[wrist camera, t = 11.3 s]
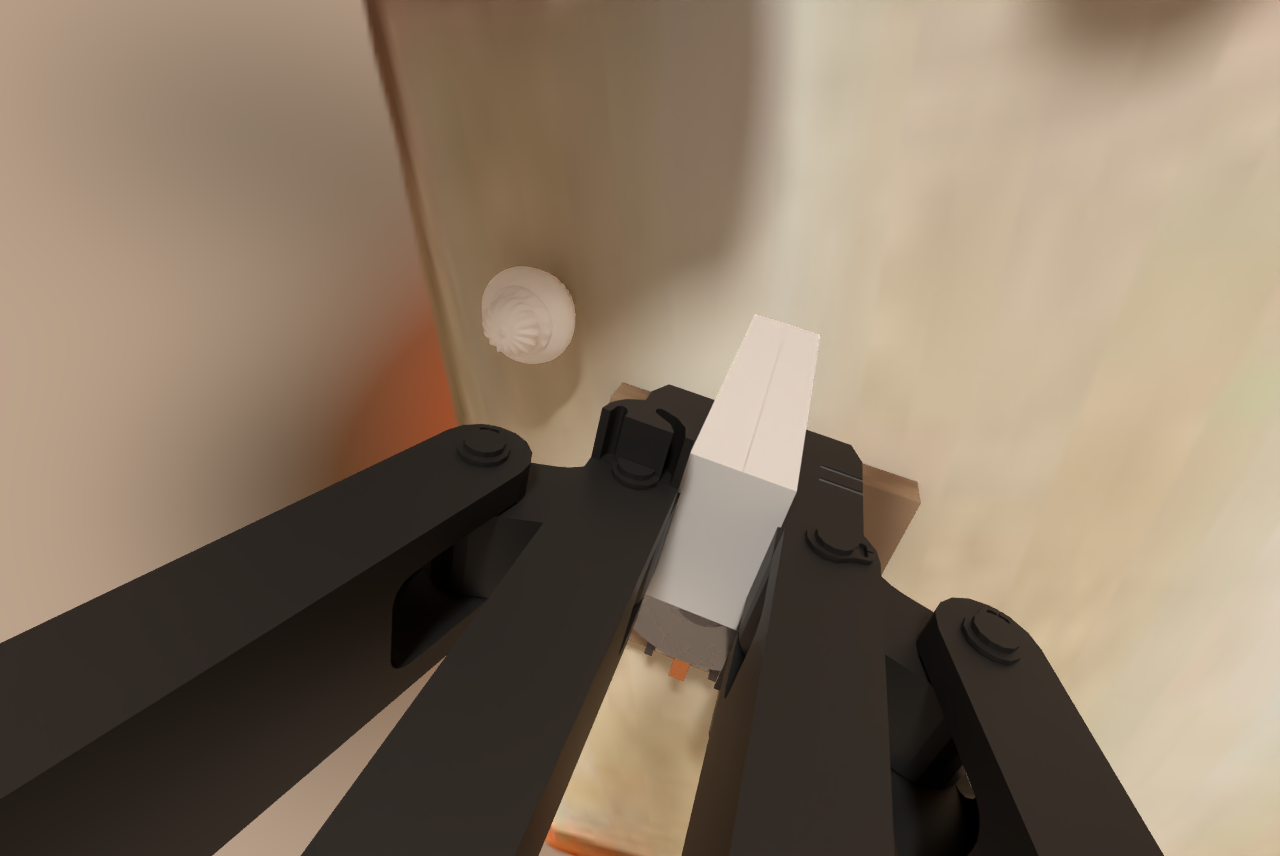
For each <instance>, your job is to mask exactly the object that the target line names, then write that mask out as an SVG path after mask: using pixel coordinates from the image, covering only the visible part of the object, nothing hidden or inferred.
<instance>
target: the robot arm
mask: <svg viewBox="0 0 1280 856" xmlns="http://www.w3.org/2000/svg"><path fill="white" fill-rule="evenodd" d="M819 341H820V335H819V334H816V333H813V332H810V331H807V330H804V329H801V328H798V327H795V326H792V325H788V324H785V323H782V322H779V321H776V320H773V319H770V318H767V317H764V316H761V315H757V314H755V315H754V317H753V320H752V322H751V324H750V326H749V328H748V330H747V332H746V335H745V337H744V339H743V341H742V343H741V345H740V347H739V350H738V352H737V354H736V356H735V358H734V360H733V362H732V365H731V367H730V369H729V371H728V373H727V375H726V378H725V380H724V382H723V384H722V386H721V388H720V390H719V393H718V395H717V397H716V399H715V400H713V399H710V398H707V397H704V396H701V395H698V394H695V393H692V392H690V391H687V390H684V389H681V388H678V387H675V386H672V385H667V386H664V387H662V388H659V389H657V390H654V391H652V392H651V393H650V395H649V396H648V397H647V399H646V400H639V399H623V400H618V401H613V402H611V403H609V404H608V405H606V406H605V407H603V408H602V412H601V416H600V421H599V425H598V429H597V434H596V438H595V443H594V447H593V452H592V456H591V458H590V460H589V461H588V462H587V464H586V465H585V466H583V467H572V468H567V467H555V466H548V465H542V464H536V463H531V457H532V451H531V449H530V447H529V445H528V444H527V442H526V441H525V440H523V439H522V438H521V437H519V436H518V435H517V434H516V433H513V432H511V431H508V430H506V429H503V428H501V427H496V426H490V425H485V424H474V425H462V426H459V427H455V428H452V429H449V430H446V431H444V432H442V433H440V434H438V435H436V436H434V437H432V438H430V439H427V440H426V441H423V442H421V443H419V444H417V445H415V446H413V447H411V448H409V449H407V450H405V451H403V452H400V453H398V454H396V455H394V456H392V457H390V458H388V459H386V460H383V461H381V462H379V463H377V464H375V465H373V466H371V467H369V468H367V469H365V470H363V471H360V472H358V473H356V474H354V475H352V476H350V477H348V478H346V479H344V480H342V481H340V482H337V483H335V484H333V485H331V486H329V487H327V488H325V489H323V490H321V491H319V492H316V493H314V494H312V495H310V496H308V497H306V498H304V499H302V500H300V501H298V502H296V503H293V504H291V505H289V506H287V507H285V508H283V509H281V510H279V511H277V512H275V513H273V514H271V515H268V516H266V517H264V518H262V519H260V520H258V521H256V522H254V523H251V524H250V525H247V526H245V527H243V528H241V529H239V530H237V531H235V532H233V533H231V534H228V535H227V536H224V537H222V538H220V539H218V540H216V541H214V542H212V543H210V544H207V545H205V546H203V547H201V548H199V549H197V550H195V551H193V552H191V553H189V554H187V555H184V556H182V557H180V558H178V559H176V560H174V561H172V562H170V563H168V564H166V565H163V566H162V567H159V568H157V569H155V570H153V571H151V572H149V573H147V574H145V575H143V576H141V577H138V578H136V579H134V580H132V581H130V582H128V583H126V584H124V585H122V586H119V587H117V588H115V589H113V590H111V591H109V592H107V593H105V594H103V595H101V596H99V597H96V598H94V599H92V600H90V601H88V602H86V603H84V604H82V605H80V606H78V607H75V608H74V609H72V610H69V611H67V612H65V613H63V614H61V615H59V616H57V617H55V618H52V619H50V620H48V621H46V622H44V623H42V624H40V625H38V626H36V627H34V628H32V629H29V630H27V631H25V632H23V633H21V634H19V635H17V636H15V637H13V638H11V639H8V640H6V641H4V642H2V643H0V856H212V855H213V854H215V853H216V852H217V851H218V850H219V849H220V848H222V847H223V846H224V845H225V844H226V843H227V842H229V841H230V840H231V839H232V838H233V837H234V836H236V835H237V834H238V833H239V832H240V831H241V830H243V828H245V827H246V826H247V825H249V824H250V823H251V822H252V821H253V820H254V819H256V818H257V817H258V816H259V815H260V814H261V813H262V812H264V811H265V810H266V809H267V808H268V807H270V806H271V805H272V804H273V803H274V802H275V801H277V799H279V798H280V797H281V796H282V795H283V794H285V793H286V792H287V791H288V790H289V789H291V788H292V787H293V786H294V785H295V784H296V783H298V782H299V781H300V780H301V779H302V778H303V777H305V776H306V775H307V774H308V773H309V772H310V771H312V770H313V769H314V768H315V767H316V766H318V765H319V764H320V763H321V762H322V761H323V760H324V759H326V758H327V757H328V756H329V755H330V754H331V753H333V752H334V751H335V750H336V749H337V748H339V747H340V746H341V745H342V744H343V743H344V742H345V741H347V740H348V739H349V738H350V737H351V736H352V735H354V734H355V733H356V732H357V731H358V730H359V729H361V728H362V727H363V726H364V725H365V724H367V723H368V722H369V721H370V720H371V719H372V718H374V717H375V716H376V715H377V714H378V713H380V712H381V711H382V710H383V709H384V708H385V707H387V706H388V705H389V704H390V703H391V702H392V701H394V700H395V699H396V698H397V697H398V696H399V695H401V694H402V693H403V692H404V691H405V690H406V689H408V688H409V687H410V686H411V685H412V684H413V683H415V682H416V681H417V680H418V679H419V678H420V677H422V676H423V675H424V674H425V673H426V672H427V671H429V670H430V669H431V668H432V667H433V666H435V665H436V664H437V663H438V662H439V661H440V660H441V659H442V658H444V657H445V656H446V655H447V656H446V657H445V659H444V660H443V661H442V663H441V664H440V665H439V667H438V668H437V670H436V671H435V672H434V674H433V675H432V676H431V678H430V679H429V680H428V682H427V683H426V685H425V686H424V687H423V689H422V690H421V691H420V693H419V694H418V696H417V697H416V698H415V700H414V701H413V702H412V704H411V705H410V707H409V708H408V709H407V711H406V712H405V713H404V715H403V716H402V718H401V719H400V720H399V722H398V723H397V724H396V726H395V727H394V729H393V730H392V731H391V733H390V734H389V735H388V737H387V738H386V739H385V741H384V742H383V744H382V745H381V746H380V748H379V749H378V750H377V752H376V753H375V755H374V756H373V757H372V759H371V760H370V761H369V763H368V764H367V766H366V767H365V768H364V770H363V771H362V772H361V774H360V775H359V777H358V778H357V779H356V781H355V782H354V784H353V785H352V786H351V788H350V789H349V790H348V792H347V793H346V794H345V796H344V797H343V799H342V800H341V801H340V803H339V804H338V805H337V807H336V808H335V809H334V811H333V812H332V814H331V815H330V816H329V818H328V819H327V821H326V822H325V823H324V825H323V826H322V827H321V829H320V830H319V831H318V833H317V834H316V836H315V837H314V838H313V840H312V841H311V842H310V844H309V845H308V846H307V848H306V849H305V851H304V852H303V853H302V855H301V856H538V855H539V853H540V851H541V848H542V846H543V843H544V841H545V839H546V836H547V834H548V831H549V829H550V827H551V824H552V822H553V819H554V817H555V815H556V812H557V810H558V807H559V805H560V803H561V800H562V798H563V795H564V793H565V790H566V788H567V786H568V783H569V781H570V778H571V776H572V774H573V771H574V769H575V766H576V764H577V762H578V759H579V757H580V754H581V752H582V750H583V747H584V745H585V742H586V740H587V738H588V735H589V733H590V730H591V728H592V726H593V723H594V721H595V718H596V716H597V714H598V711H599V709H600V706H601V704H602V702H603V699H604V697H605V694H606V692H607V690H608V687H609V685H610V682H611V680H612V678H613V675H614V673H615V670H616V668H617V665H618V663H619V661H620V658H621V656H622V653H623V651H624V649H625V646H626V644H627V641H628V639H629V637H630V634H631V632H632V629H633V627H634V625H635V622H636V620H637V617H638V614H639V611H640V608H641V605H642V602H643V598H644V595H645V594H646V595H649V596H651V597H654V598H656V599H659V600H661V601H664V602H666V603H669V604H671V605H674V606H676V607H679V608H681V609H684V610H686V611H689V612H691V613H694V614H696V615H699V616H701V617H704V618H707V619H709V620H712V621H714V622H717V623H719V624H722V625H724V626H727V627H729V628H732V629H734V630H736V628H737V626H738V623H739V621H740V619H741V617H742V620H741V625H740V629H739V632H738V635H737V637H736V639H735V641H734V644H733V646H732V648H731V650H730V652H729V655H728V657H727V659H726V661H725V664H724V666H723V668H722V670H721V673H720V675H719V677H718V679H717V682H716V684H715V686H714V688H715V689H717V690H720V693H719V697H718V702H717V706H716V710H715V714H714V719H713V723H712V727H711V732H710V736H709V740H708V744H707V749H706V753H705V757H704V762H703V766H702V770H701V774H700V779H699V783H698V787H697V792H696V796H695V800H694V804H693V809H692V813H691V817H690V822H689V826H688V830H687V834H686V839H685V843H684V847H683V852H682V856H1164V855H1163V853H1162V851H1161V850H1160V848H1159V846H1158V845H1157V843H1156V841H1155V840H1154V838H1153V836H1152V835H1151V833H1150V831H1149V830H1148V828H1147V826H1146V825H1145V823H1144V821H1143V820H1142V818H1141V816H1140V815H1139V813H1138V811H1137V809H1136V808H1135V806H1134V804H1133V803H1132V801H1131V799H1130V798H1129V796H1128V794H1127V793H1126V791H1125V789H1124V788H1123V786H1122V784H1121V783H1120V781H1119V779H1118V778H1117V776H1116V774H1115V773H1114V771H1113V769H1112V767H1111V766H1110V764H1109V762H1108V761H1107V759H1106V757H1105V756H1104V754H1103V752H1102V751H1101V749H1100V747H1099V746H1098V744H1097V742H1096V741H1095V739H1094V737H1093V736H1092V734H1091V732H1090V731H1089V729H1088V727H1087V725H1086V724H1085V722H1084V720H1083V719H1082V717H1081V715H1080V714H1079V712H1078V710H1077V709H1076V707H1075V705H1074V704H1073V702H1072V700H1071V699H1070V697H1069V695H1068V694H1067V692H1066V690H1065V689H1064V687H1063V685H1062V683H1061V682H1060V680H1059V678H1058V677H1057V675H1056V673H1055V672H1054V670H1053V668H1052V667H1051V665H1050V663H1049V662H1048V660H1047V658H1046V657H1045V655H1044V653H1043V652H1042V650H1041V649H1040V647H1039V646H1038V645H1037V644H1036V642H1035V641H1034V640H1033V638H1032V637H1031V636H1030V635H1029V633H1028V632H1026V631H1025V630H1024V629H1023V628H1022V627H1021V626H1019V625H1018V624H1017V623H1016V622H1015V621H1013V620H1012V619H1011V618H1010V617H1009V616H1007V615H1006V614H1004V613H1002V612H1000V611H998V610H997V609H995V608H993V607H991V606H989V605H986V604H983V603H980V602H977V601H975V600H972V599H966V598H950V599H948V600H945V601H943V602H940V604H939V605H938V607H937V608H936V610H935V611H934V612H932V611H931V610H929V609H927V608H926V607H924V606H922V605H921V604H919V603H917V602H916V601H914V600H912V599H911V598H909V597H907V596H906V595H904V594H903V593H901V592H900V591H898V590H897V589H896V588H894V587H893V586H891V585H890V584H889V583H888V582H887V581H886V580H885V579H884V578H882V577H881V563H880V560H879V557H878V554H877V551H876V549H875V548H874V547H873V546H872V545H871V543H870V542H869V541H868V540H867V538H866V537H864V522H863V495H862V493H863V482H862V480H863V463H862V461H861V460H860V458H859V457H858V455H857V454H856V452H855V450H854V449H853V447H852V446H851V445H849V444H846V443H843V442H840V441H838V440H835V439H832V438H829V437H826V436H823V435H820V434H817V433H814V432H811V431H809V430H806V427H807V420H808V414H809V407H810V400H811V394H812V387H813V381H814V374H815V367H816V361H817V354H818V348H819ZM742 614H743V616H742ZM966 774H967V775H966ZM967 776H968V777H967ZM968 779H969V780H968ZM969 782H970V783H969ZM970 784H971V785H970Z"/></svg>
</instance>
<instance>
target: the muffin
mask: <svg viewBox="0 0 1280 856" xmlns="http://www.w3.org/2000/svg"><path fill="white" fill-rule="evenodd" d="M481 313H482V326H483V328H484V336H485V337H486V338H488V339H489V344H490V345H491V346H495V347H496V349H497V352H502V353H503V354H504V355H506V356H507V357H509V358H511V359H513V360H515V361H518V362H521V363H526V364H540V363H545V362H548V361H551V360H553V359H555V358H557V357H558V356H559V355H561V354H562V353H563V352H564V351H565V349H566V348H567V347H568V345H569V344H570V342H571V340H572V337H573V334H574V330H575V325H576V322H575V317H576V313H575V305H574V302H573V299H572V296H571V294H569V290H567V289H566V286H565V285H564V284H563V283H561V282H560V281H559V280H558V279H557V278H556V277H555V276H552V275H551V274H550V273H549V272H547V271H546V272H544V271H542V270H540V269H537V268H533V267H527V266H516V267H511V268H507V269H505V270H503V271H501V272H499V273H498V274H497V275H495V276H494V277H493V278H492V279H491V280H490V282H489V283H488V285H487V286H486V288H485V290H484V293H483V297H482V303H481Z"/></svg>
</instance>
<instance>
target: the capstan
mask: <svg viewBox="0 0 1280 856" xmlns="http://www.w3.org/2000/svg"><path fill="white" fill-rule="evenodd" d="M742 616H743V614H742ZM741 620H742V617H741V619H740V621H739V623H738V626H737V628H736V630H734V629H732V628H729V627H727V626H724V625H722V624H719V623H717V622H714V621H712V620H709V619H707V618H704V617H701V616H699V615H696V614H694V613H691V612H689V611H686V610H684V609H681V608H679V607H676V606H674V605H671V604H669V603H666V602H664V601H661V600H659V599H656V598H654V597H651V596H649V595H646V594H645V595H644V598H643V602H642V605H641V608H640V611H639V614H638V617H637V620H636V622H635V625H634V627H633V629H634V630H635V631H636V632H637V633H638V634H639V635H641V636H642V637H643V638H644V639H645V640H647V641H648V642H649V643H650V644H652V645H653V646H655V647H657V648H658V649H660V650H661V651H663V652H665V653H666V654H668V655H670V656H672V657H674V661H673V663H672V666H671V669H670V672H669V676H671V677H674V678H676V679H679V680H681V681H684V679H685V676H686V674H687V671H688V668H689V666H690V664H692V665H695V666H698V667H702V668H707V669H711V670H718V671H721V670H722V668H723V666H724V664H725V661H726V659H727V657H728V655H729V652H730V650H731V648H732V646H733V644H734V641H735V639H736V637H737V635H738V632H739V629H740V625H741ZM719 693H720V690H719V692H718V696H717V701H716V705H715V709H714V713H713V718H712V722H711V726H710V730H709V736H710V732H711V727H712V723H713V719H714V714H715V710H716V706H717V702H718V697H719Z"/></svg>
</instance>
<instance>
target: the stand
mask: <svg viewBox="0 0 1280 856" xmlns="http://www.w3.org/2000/svg"><path fill="white" fill-rule="evenodd" d="M650 393H651V392H649V391H646V390H643V389H640V388H637V387H634V386H631V385H628V384H625V383H622V385H621V386H620V387H619V388H618V389H617V391H616V392H615V393H614V394H613V395H612V396H611V399H610V403H611V402H613V401H618V400H623V399H639V400H646V399H647V397H648V396H649V395H650ZM862 482H863V493H862V495H863V522H864V537H866V538H867V540H868V541H869V542H870V543H871V545H872V546H873V547H874V548H875V549H876V551H877V554H878V557H879V560H880V563H881V575H882V573H883V571H884V569H885V567H886V565H887V564H888V562H889V560H890V558H891V556H892V555H893V553H894V551H895V549H896V547H897V545H898V544H899V542H900V540H901V538H902V536H903V535H904V533H905V531H906V529H907V527H908V525H909V524H910V522H911V520H912V518H913V516H914V514H915V513H916V511H917V509H918V507H919V505H920V504H921V502H920V496H919V490H918V483H917V482H915V481H912V480H910V479H907V478H904V477H901V476H898V475H895V474H892V473H889V472H886V471H883V470H880V469H877V468H874V467H871V466H868V465H865V464H863V480H862ZM629 639H630V640H632V641H634V642H637V643H639V644H642V645H644V646H646V649H645V652H644V653H645V654H648V655H650V656H652V653H653V650H655V651H656V652H659V653H661V654H664V655H666V656H669V657H671V658H674V657H672V656H670V655H668V654H666V653H665V652H663V651H661V650H660V649H658V648H657V647H655V646H653V645H652V644H650V643H649V642H648V641H647V640H645V639H644V638H643V637H642V636H641V635H639V634H638V633H637V632H636V631H635V630H634V629H632V632H631V634H630V637H629ZM690 665H691V666H694V667H696V668H699V669H701V670H704V671H706V672H710V673H709V677H708V679H710V680H712V681H714V682H716V679H717V677H718V675H720V673H721V671H718V670H711V669H707V668H702V667H698V666H695V665H692V664H690Z"/></svg>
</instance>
